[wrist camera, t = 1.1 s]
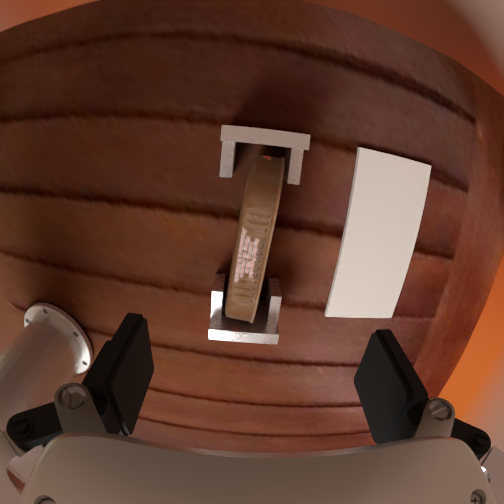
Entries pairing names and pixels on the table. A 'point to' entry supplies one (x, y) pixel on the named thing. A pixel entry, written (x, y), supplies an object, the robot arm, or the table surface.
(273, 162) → the tin
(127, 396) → the robot arm
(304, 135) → the end brackets
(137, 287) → the table surface
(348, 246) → the mat
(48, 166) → the table surface
